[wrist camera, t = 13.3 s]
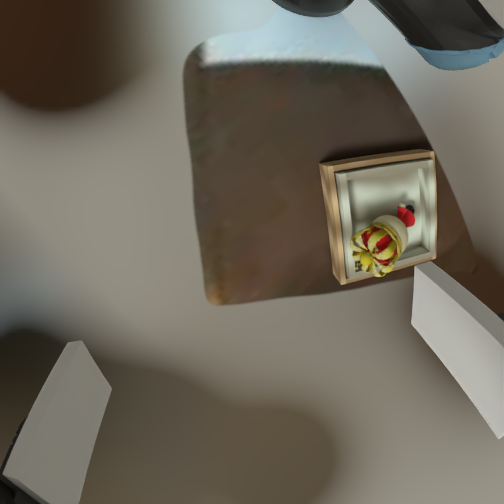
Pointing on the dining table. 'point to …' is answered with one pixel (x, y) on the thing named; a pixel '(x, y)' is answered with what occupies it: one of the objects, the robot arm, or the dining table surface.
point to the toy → (383, 241)
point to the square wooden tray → (379, 205)
